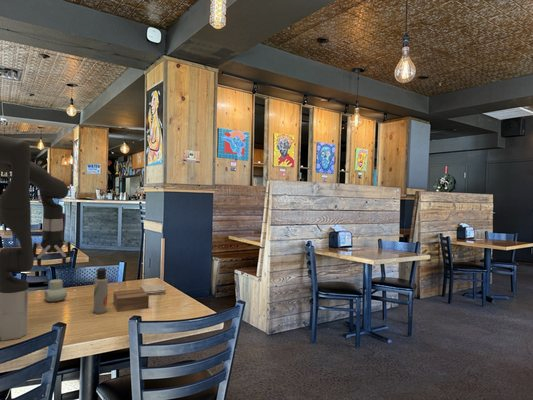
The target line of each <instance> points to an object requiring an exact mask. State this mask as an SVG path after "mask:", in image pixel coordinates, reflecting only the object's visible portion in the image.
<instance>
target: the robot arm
mask: <svg viewBox="0 0 533 400" xmlns="http://www.w3.org/2000/svg"><path fill="white" fill-rule="evenodd" d="M0 164H1V165H3V166H5V167H7V168H9V169H11V177H10V181H9V184H8V185H7V186H6V187H5V189H4V190H3V192H2V194H1V195H0V219H1V221H2V222H3V224H4V225H5V226H6V228H7V229H8V230H10V232H11V233H12V234H13V235H14V236H15V238H16V239H17V240H18V242H19V244H20V247H3V248H1V249H0V341H2V342H3V341H9V340H17V339H21V338H22V337H24V336H25V337H26V335H27V334H28V311H29V310H28V308H29V306H28V305H29V282H28V281H27V280H25V279H22V278H20V277H19V278H18V277H16V276H15V275H13V274H12V273H26V272H30V271H31V270H32V269H33V267H34V261H35V258H36V265H37V266H38V267H39V268H41V267H42V256H44V255H45V254H46V253H48V254H49V253H57V252H58V253H59V254H60V255H61V257H62V259H61V265H62V266H65V265H66V263H67V257H68V256H69V257H70V256H71V255H72V248H71V247H72V246H71V241H69V240H68V241H64V240H63V238H64V237H63V236H64V221H63V219H64V218H63V215H64V214H63V213H64V207H63V205H62V204H59V203H57V202H55V201H54V199H55V200H63V199H65V198H67V196H68V195H69V187H68V185H67V184H66V183H65V182H64V181H63V180H61V179H58V178H57V177H55V176H52V174H50V173H49V172H48V171H47V170H46V169H45V168H43V167H42V166H40V165H39V164H37V163H35V162H33V161H32V151H31V146H30V144H29V143H28V141H26V140H24V139H21V138H16V137H10V136H5V135H0ZM30 183H31V184H32V185H33V186H34V187H36V188H37V189H39V191H38V192H39V196H40V199H41V203H42V208H43V219H42V226H41V227H42V231H41V232H42V233H41V234H42V235H41V236H42V237H41V239H42V240H41V242H37V241H33V238H32V225H31V223H32V215H31V214H32V212H31V198H30V197H31V195H30V191H31V190H30ZM63 246H65V248H67V252H65V251H64V250H63V249H62V248H63ZM39 247H41V248H42V249H41V251H39V253H37V249H38V248H39Z"/></svg>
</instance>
